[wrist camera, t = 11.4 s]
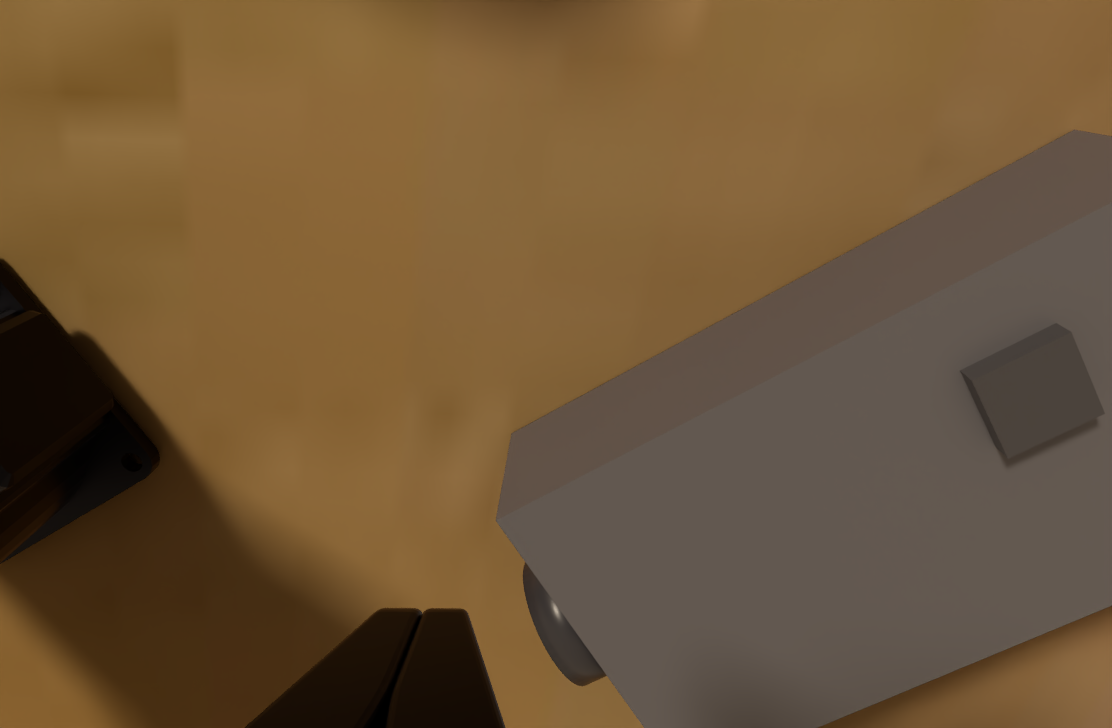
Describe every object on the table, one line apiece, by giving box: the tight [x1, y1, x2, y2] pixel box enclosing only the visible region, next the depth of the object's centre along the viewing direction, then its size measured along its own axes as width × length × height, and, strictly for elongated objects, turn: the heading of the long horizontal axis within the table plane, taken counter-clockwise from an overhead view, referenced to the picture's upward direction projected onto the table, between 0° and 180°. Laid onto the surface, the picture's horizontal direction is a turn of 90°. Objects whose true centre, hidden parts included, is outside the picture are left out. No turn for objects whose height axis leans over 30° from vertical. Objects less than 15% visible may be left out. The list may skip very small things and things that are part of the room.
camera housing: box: [496, 130, 1112, 728], centre depth 18 cm, size 15×8×4 cm, turn 121°
